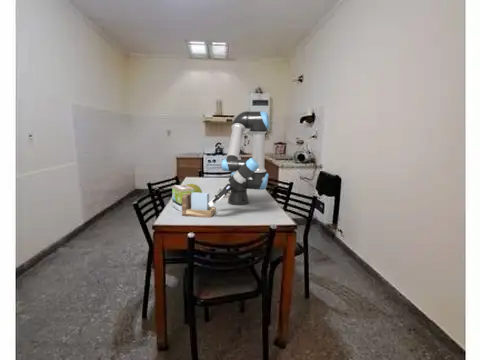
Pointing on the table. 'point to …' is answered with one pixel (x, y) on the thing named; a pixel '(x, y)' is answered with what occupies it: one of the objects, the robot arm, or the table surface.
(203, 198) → the pale blue rectangular block
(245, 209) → the table surface
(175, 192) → the tea box
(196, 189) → the fruit
